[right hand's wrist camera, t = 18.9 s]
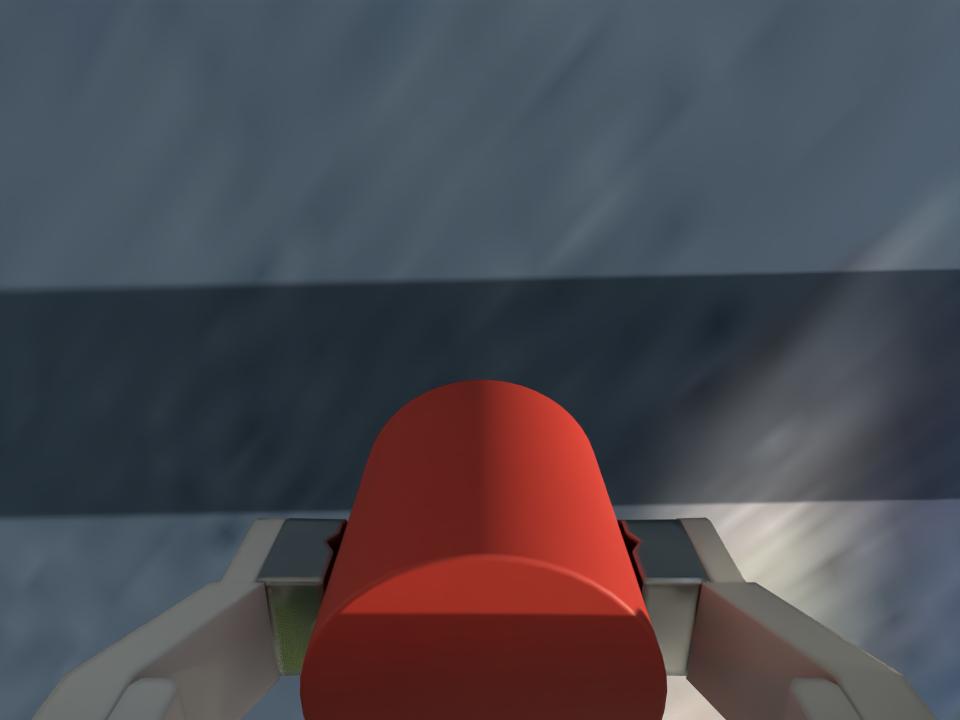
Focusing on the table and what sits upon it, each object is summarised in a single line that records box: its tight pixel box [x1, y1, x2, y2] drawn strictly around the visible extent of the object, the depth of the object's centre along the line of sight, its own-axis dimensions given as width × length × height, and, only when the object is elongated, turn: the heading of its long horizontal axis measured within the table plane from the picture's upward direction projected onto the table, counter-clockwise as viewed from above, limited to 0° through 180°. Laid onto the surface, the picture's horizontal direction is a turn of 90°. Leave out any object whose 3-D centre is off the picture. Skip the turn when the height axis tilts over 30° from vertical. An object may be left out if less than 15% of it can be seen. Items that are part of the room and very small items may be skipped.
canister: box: [300, 380, 667, 720], centre depth 10 cm, size 5×5×5 cm
